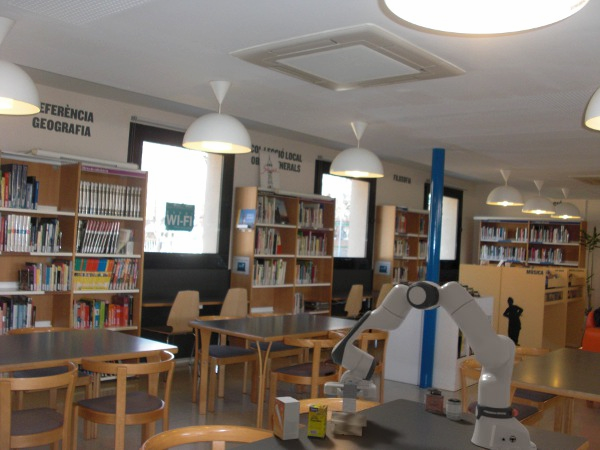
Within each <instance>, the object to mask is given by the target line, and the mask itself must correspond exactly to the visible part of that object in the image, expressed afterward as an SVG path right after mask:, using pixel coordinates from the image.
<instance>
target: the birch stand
mask: <svg viewBox="0 0 600 450" xmlns="http://www.w3.org/2000/svg"><path fill="white" fill-rule="evenodd" d="M330 424H331V425H334V429H333V430H334V431H333V432H334V435H342V434H344V435H345V436H354V435H355V437H357V436H358V437H362V434H363V427H367V425H368V424H367V414H362V413H352V412H338V411H332V413H331V416H330ZM344 435H343V436H344Z"/></svg>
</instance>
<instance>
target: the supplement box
mask: <svg viewBox="0 0 600 450" xmlns="http://www.w3.org/2000/svg"><path fill="white" fill-rule="evenodd" d="M328 407H329V405H327V404H321V403H311V404H310V406H309V408H308V421H307V438H308V439H309V438H310V439H317V440H324V439H325V437H326V435H327V424H328V423H327V422H328Z"/></svg>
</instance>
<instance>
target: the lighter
mask: <svg viewBox="0 0 600 450" xmlns="http://www.w3.org/2000/svg"><path fill="white" fill-rule="evenodd" d="M427 391H428V392H425V408H424V411H425V412H427V413H428V412H429V413H432V414H433V413H434V414H439V415H442V414H444V401H445V395H443V394H442V393H443V391H442V390H441V389H439V388H434V387H433V388H432V387H427Z"/></svg>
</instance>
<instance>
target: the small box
mask: <svg viewBox="0 0 600 450" xmlns="http://www.w3.org/2000/svg"><path fill="white" fill-rule="evenodd" d="M273 413H274V415H273V429H272V430H273V431H272V434H273V435H275V436H276V437H279V439H281V440H283V441H285V440H296V439H299V431H300V430H299V429H300V428H299V427H300V415H301V414H300V413H301V401H299V400H297V399H296V398H293V397H292V396H280V397H275V398H274V412H273Z"/></svg>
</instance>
